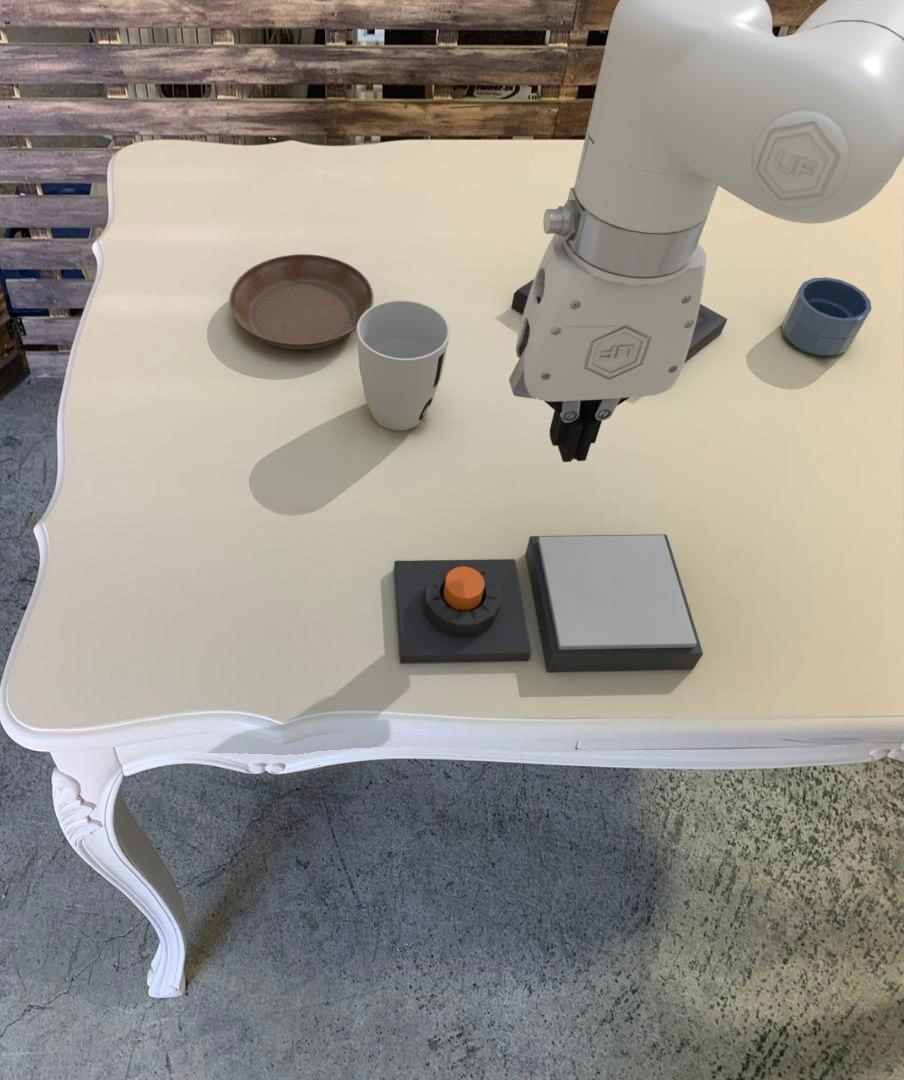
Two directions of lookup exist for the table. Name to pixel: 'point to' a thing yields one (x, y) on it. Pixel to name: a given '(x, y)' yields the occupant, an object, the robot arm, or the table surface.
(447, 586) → the button
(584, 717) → the table surface
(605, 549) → the scale
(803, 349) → the blue round container
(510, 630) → the panel
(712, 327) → the picture frame
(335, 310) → the saucer
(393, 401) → the cup
